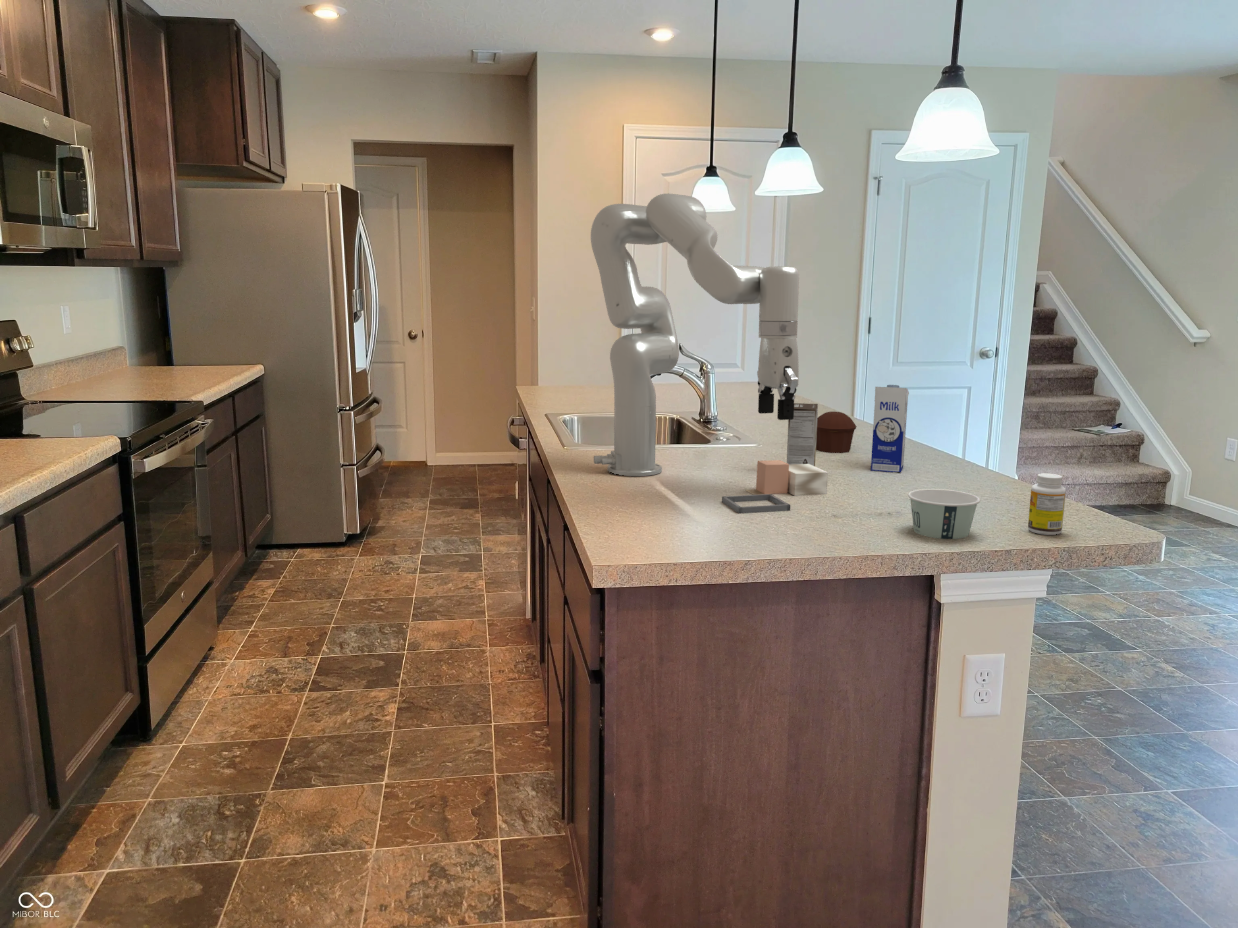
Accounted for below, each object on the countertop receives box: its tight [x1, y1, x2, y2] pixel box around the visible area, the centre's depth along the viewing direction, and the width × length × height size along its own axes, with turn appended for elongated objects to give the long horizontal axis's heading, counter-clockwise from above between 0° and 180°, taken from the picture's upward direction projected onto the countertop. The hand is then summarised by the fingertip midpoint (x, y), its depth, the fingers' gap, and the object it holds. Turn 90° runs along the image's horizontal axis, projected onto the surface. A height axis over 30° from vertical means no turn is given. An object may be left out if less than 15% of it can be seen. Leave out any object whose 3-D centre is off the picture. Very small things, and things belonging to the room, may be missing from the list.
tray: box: [721, 494, 791, 514], centre depth 173 cm, size 10×9×2 cm
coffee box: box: [786, 402, 819, 467], centre depth 206 cm, size 9×6×16 cm
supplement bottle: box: [1027, 472, 1067, 536], centre depth 160 cm, size 6×6×10 cm
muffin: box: [816, 411, 857, 454], centre depth 238 cm, size 12×11×10 cm
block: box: [755, 459, 789, 495], centre depth 185 cm, size 5×4×6 cm
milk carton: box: [870, 384, 910, 473], centre depth 212 cm, size 7×7×20 cm
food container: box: [907, 488, 981, 540], centre depth 160 cm, size 12×12×6 cm
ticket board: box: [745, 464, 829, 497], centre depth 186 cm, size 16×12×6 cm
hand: (775, 416), depth 182 cm, fingers open, 9 cm apart
